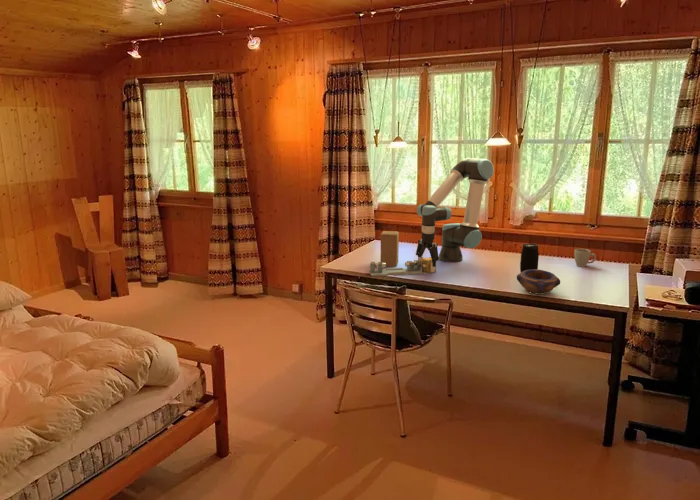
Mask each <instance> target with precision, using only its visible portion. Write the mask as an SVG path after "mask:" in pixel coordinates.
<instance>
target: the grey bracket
mask: <svg viewBox="0 0 700 500" xmlns="http://www.w3.org/2000/svg"><path fill="white" fill-rule="evenodd" d="M369 266H370V267H369V270H370V272H375V270H376V268H377V270H378V273H382V271H383V269H384V268H387V266H386V263H383V262H380V261H378V262H375V261H370V264H369Z"/></svg>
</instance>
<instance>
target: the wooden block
mask: <svg viewBox="0 0 700 500" xmlns="http://www.w3.org/2000/svg"><path fill="white" fill-rule="evenodd" d="M399 235H400V232H399V231H391V230H389V231H388V230H383V231H382V232H381V233H380V261H379V262H383V263H386V267H395V266H396V267H397V265H398V264H399V247H400V245H399V241H400V240H399V238H400V237H399Z"/></svg>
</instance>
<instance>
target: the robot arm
mask: <svg viewBox="0 0 700 500" xmlns="http://www.w3.org/2000/svg"><path fill="white" fill-rule="evenodd" d="M494 169H495V168H494V164H493V163H492V161H491V160H489V159H487V158H477V157H474V158H473V157H467V158H464V159H463V160H460V161H459V162H458V163H456V164H455V165H454V167H452V169H450V171H449V175H448V176H447V177H446V178H445V179H444V181H443V182H442V183H441V184H440V185H439V186H438V188H437V189H436V190H435V191H434V192H433V194H432V195H431V196H430V197H429V199H428V200H426V202H425V203H422V204H419V205H418V206H417V208H416V214H417V215H418V216H419V217H421V237H420V238H421V239H418V240H417V247H416V251H415V255H416V256H417V258H418V259H417V260H418V261H420V262H421V266H422V259H423V258H424V256H423V255H424V253H425V251H426V249H427V250H428V251H429V255H430V257H431V258H432V261H431V272H433V273H436V272H435V266H436V267H437V262H438V261H441V262H448V263H455V262H456V263H457V262H461V261H463V260H464V259H463V257H464V256H463V254H462V249H461V247H465V249H466V248H469V249H475V248H476V247H478V246H479V245H480V243H481V242H482V238H483V237H482V236H483V235H482V231H480V226H479V223H478V222H479V217H480V210H481V206H482V202H483V201H482V200H483V195H484V189H485V185H486V184H487V183H488V182H489V181H488V180H490V179H491V178H492V176H494V172H495V170H494ZM466 178H467V180H468V182H469V186H468V187H469V188H468V191H467V198H466V204H465V209H464V216H463V220H462V222H461V223H457V222H456V223H446V224H443V225H442V230H441V248H440V251H439V249H438V246H439V245H438V243H436V242H435V241H434V240H435V236H436V233H435V232H436V222H441V221H447V220H450V219H451V218H452V216H453V214H452V213H453V212H452V209H451V207H448V206H442V207H441V204H442V203H443V202H444V201H445V199H447V198H448V196H449V195H450V194H451V193H452V191H453V190H454V189H455V188H456V186H457V185H458V184H459V183H460V182H463V181H464V180H465V179H466Z"/></svg>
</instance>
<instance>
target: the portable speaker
mask: <svg viewBox="0 0 700 500" xmlns="http://www.w3.org/2000/svg"><path fill="white" fill-rule="evenodd" d="M539 254H540V253H539V245H538V244H537V243H535V242H534V243H533V242H530V243H523V245H522V249H521V253H520V264H519V270H520V272H519V273H521V272H523V271H525V270H532V269H538V268H539V256H540V255H539Z"/></svg>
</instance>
